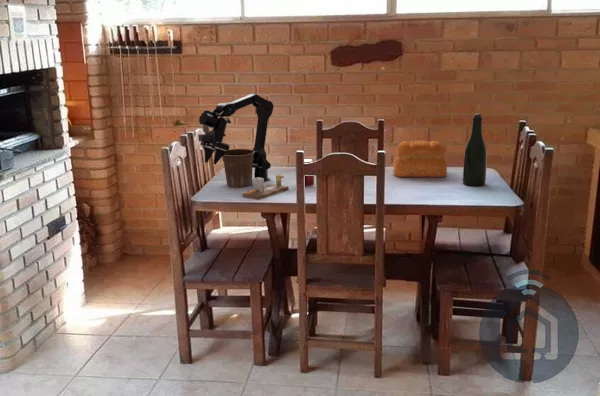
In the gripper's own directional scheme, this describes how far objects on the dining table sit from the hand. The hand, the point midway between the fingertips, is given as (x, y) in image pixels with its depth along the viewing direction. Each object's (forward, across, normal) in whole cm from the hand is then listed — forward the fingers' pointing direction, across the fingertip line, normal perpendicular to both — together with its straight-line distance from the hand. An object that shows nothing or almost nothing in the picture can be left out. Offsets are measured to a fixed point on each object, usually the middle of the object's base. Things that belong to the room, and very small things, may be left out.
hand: (210, 163), depth 282 cm
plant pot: (+6, -6, +21) cm, 23 cm away
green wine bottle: (-22, +62, +105) cm, 124 cm away
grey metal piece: (+8, +18, +16) cm, 26 cm away
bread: (-22, +31, +99) cm, 106 cm away
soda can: (-2, +14, +45) cm, 47 cm away
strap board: (+7, +15, +24) cm, 29 cm away
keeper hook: (+2, +13, +31) cm, 34 cm away
